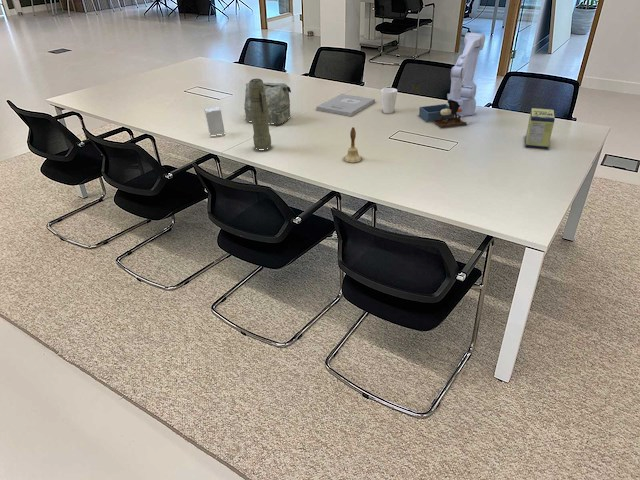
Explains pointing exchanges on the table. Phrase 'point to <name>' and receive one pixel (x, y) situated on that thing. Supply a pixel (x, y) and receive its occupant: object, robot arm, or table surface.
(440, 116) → the wash tub
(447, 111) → the bottle brush
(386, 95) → the foam cup
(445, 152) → the table surface
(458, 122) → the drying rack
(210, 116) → the cosmetic box
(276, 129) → the table surface
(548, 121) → the protein box
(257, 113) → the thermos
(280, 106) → the lunch bag
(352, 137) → the hand bell
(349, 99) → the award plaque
